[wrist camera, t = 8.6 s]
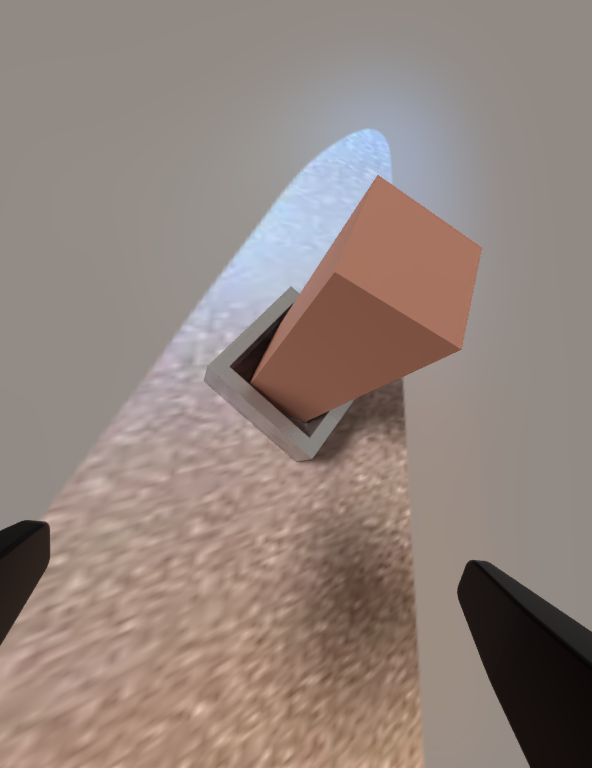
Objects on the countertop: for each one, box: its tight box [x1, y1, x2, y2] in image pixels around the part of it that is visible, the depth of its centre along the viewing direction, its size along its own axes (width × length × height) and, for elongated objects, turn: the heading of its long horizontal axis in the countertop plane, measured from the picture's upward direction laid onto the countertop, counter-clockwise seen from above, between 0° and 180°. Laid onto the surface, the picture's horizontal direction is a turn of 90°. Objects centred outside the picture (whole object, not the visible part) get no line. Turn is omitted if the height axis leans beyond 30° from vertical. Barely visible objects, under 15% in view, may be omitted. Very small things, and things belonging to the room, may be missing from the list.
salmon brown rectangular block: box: [249, 175, 482, 423], centre depth 14 cm, size 4×4×12 cm
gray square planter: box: [204, 287, 354, 462], centre depth 19 cm, size 7×7×2 cm
